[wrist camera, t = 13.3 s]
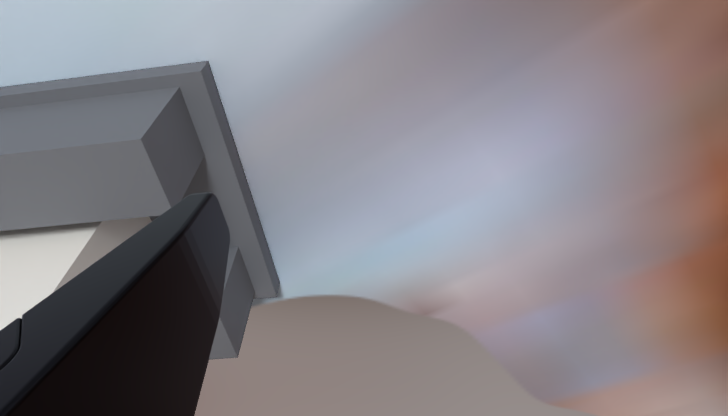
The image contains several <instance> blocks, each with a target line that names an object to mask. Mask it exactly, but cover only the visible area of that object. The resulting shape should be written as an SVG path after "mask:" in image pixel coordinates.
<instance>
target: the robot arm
mask: <svg viewBox="0 0 728 416" xmlns="http://www.w3.org/2000/svg"><path fill="white" fill-rule="evenodd" d="M229 247H230V231H229V227H228V225H227V222H226V219H225V217H224V214H223V211H222V209H221V206H220V203H219V201H218V198H217V197H216V195H215V194H213V193H212V192H204V193H195V194H190V195H188V196H187V197H185V198H184V199H182V200H181V201H180V202H178V203H177V204H176V205H174V206H173V207H171V208H170V209H169V210H167V211H166V212H164V213H163V214H162V215H160V216H159V217H157V218H156V219H155V220H153V221H152V222H150V223H149V224H148V225H146V226H145V227H144V228H142V229H141V230H139V231H138V232H137V233H135V234H134V235H132V236H131V237H130V238H128V239H127V240H125V241H124V242H123V243H121V244H120V245H119V246H117V247H116V248H114V249H113V250H112V251H110V252H109V253H107V254H106V255H105V256H103V257H102V258H100V259H99V260H98V261H96V262H95V263H93V264H92V265H91V266H89V267H88V268H87V269H85V270H84V271H82V272H81V273H80V274H78V275H77V276H75V277H74V278H73V279H71V280H70V281H68V282H67V283H66V284H64V285H63V286H62V287H60V288H59V289H57V290H56V291H55V292H53V293H52V294H50V295H49V296H48V297H46V298H45V299H43V300H42V301H41V302H39V303H38V304H36V305H35V306H34V307H32V308H31V309H30V310H28V311H27V312H25V313H24V314H23V315H22V319H21V318H17V319H15V320H14V321H13V322H11V323H10V324H8V325H7V326H6V327H4V328H3V329H2V330H0V416H194V414H195V410H196V407H197V402H198V399H199V395H200V391H201V387H202V383H203V379H204V376H205V372H206V368H207V364H208V360H209V357H210V353H211V349H212V345H213V341H214V338H215V334H216V330H217V326H218V322H219V317H220V312H221V306H222V300H223V292H224V285H225V277H226V270H227V262H228V255H229Z"/></svg>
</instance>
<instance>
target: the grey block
mask: <svg viewBox="0 0 728 416" xmlns="http://www.w3.org/2000/svg"><path fill="white" fill-rule="evenodd" d="M150 222H152V221H151V219H150V217H140V218H130V219H119V220H109V221H99V222H89V223H78V224H68V225H58V226H48V227H37V228H27V229H17V230H7V231H0V330H2V329H3V328H4V327H6V326H7V325H8V324H10V323H11V322H13V321H14V320H15V319H17V318H21V319H22V315H23V314H24V313H25V312H27V311H28V310H30V309H31V308H32V307H34V306H35V305H36V304H38V303H39V302H41V301H42V300H43V299H45V298H46V297H48V296H49V295H50V294H52V293H53V292H55V291H56V290H57V289H59V288H60V287H62V286H63V285H64V284H66V283H67V282H68V281H70V280H71V279H73V278H74V277H75V276H77V275H78V274H80V273H81V272H82V271H84V270H85V269H87V268H88V267H89V266H91V265H92V264H93V263H95V262H96V261H98V260H99V259H100V258H102V257H103V256H105V255H106V254H107V253H109V252H110V251H112V250H113V249H114V248H116V247H117V246H119V245H120V244H121V243H123V242H124V241H125V240H127V239H128V238H130V237H131V236H132V235H134V234H135V233H137V232H138V231H139V230H141V229H142V228H144V227H145V226H146V225H148V224H149V223H150Z"/></svg>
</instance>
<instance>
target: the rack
mask: <svg viewBox="0 0 728 416" xmlns="http://www.w3.org/2000/svg"><path fill="white" fill-rule="evenodd" d="M204 192H212V193H213V194H215V195H216V197H217V198H218V201H219V203H220V206H221V209H222V211H223V214H224V217H225V219H226V222H227V225H228V227H229V231H230V247H229V255H228V262H227V270H226V277H225V285H224V292H223V300H222V306H221V312H220V317H219V322H218V326H217V330H216V334H215V338H214V341H213V345H212V349H211V353H210V357H209V359H223V358H237V357H238V354H239V350H240V347H241V343H242V339H243V335H244V331H245V327H246V324H247V320H248V316H249V312H250V308H251V304H252V301H253V299H256V298H268V297H277V293H278V288H279V283H280V282H279V279H278V276H277V273H276V270H275V267H274V264H273V261H272V257H271V254H270V251H269V248H268V245H267V242H266V239H265V236H264V233H263V230H262V227H261V223H260V220H259V217H258V214H257V211H256V208H255V205H254V202H253V199H252V196H251V193H250V189H249V186H248V183H247V180H246V177H245V174H244V171H243V168H242V165H241V162H240V159H239V155H238V152H237V149H236V146H235V143H234V140H233V137H232V134H231V131H230V128H229V125H228V121H227V118H226V115H225V112H224V109H223V106H222V103H221V100H220V97H219V94H218V91H217V87H216V84H215V81H214V78H213V75H212V72H211V69H210V66H209V63H208V61H204V62H196V63H188V64H180V65H172V66H164V67H156V68H149V69H141V70H133V71H125V72H117V73H109V74H101V75H93V76H86V77H78V78H70V79H62V80H54V81H46V82H38V83H30V84H23V85H15V86H7V87H0V231H7V230H17V229H27V228H37V227H48V226H58V225H68V224H78V223H89V222H99V221H109V220H119V219H130V218H140V217H150V219H151V221H153V220H155V219H156V218H157V217H159V216H160V215H162V214H163V213H164V212H166V211H167V210H169V209H170V208H171V207H173V206H174V205H176V204H177V203H178V202H180V201H181V200H182V199H184V198H185V197H187V196H188V195H190V194H195V193H204Z"/></svg>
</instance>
